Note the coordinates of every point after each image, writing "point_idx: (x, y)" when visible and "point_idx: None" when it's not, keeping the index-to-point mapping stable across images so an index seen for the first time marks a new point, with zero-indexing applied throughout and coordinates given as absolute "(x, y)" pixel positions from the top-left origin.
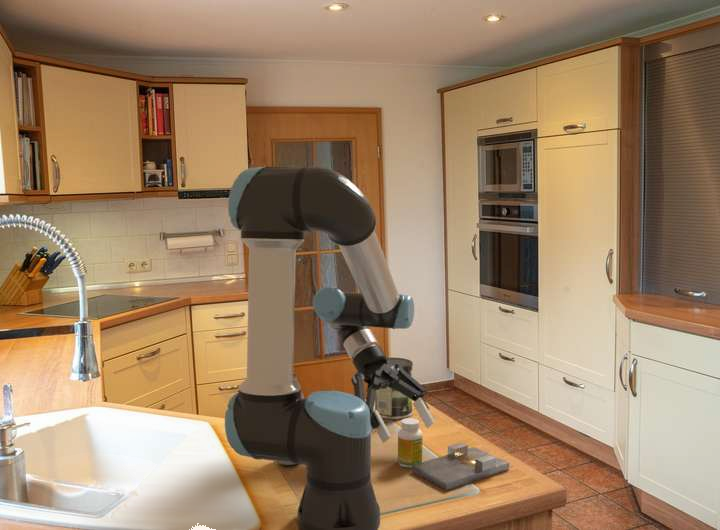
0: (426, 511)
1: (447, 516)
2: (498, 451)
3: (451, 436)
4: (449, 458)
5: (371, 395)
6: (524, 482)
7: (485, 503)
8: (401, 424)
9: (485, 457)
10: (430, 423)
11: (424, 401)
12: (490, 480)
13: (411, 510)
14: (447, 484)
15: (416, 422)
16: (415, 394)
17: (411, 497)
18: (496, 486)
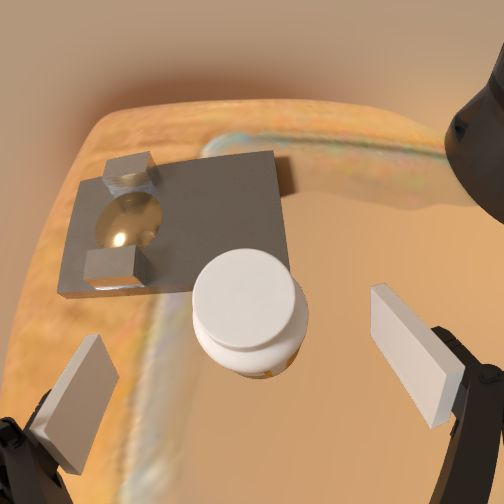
0: (358, 125)
1: (331, 102)
2: (29, 274)
3: None
4: (159, 261)
5: (486, 476)
6: (118, 141)
7: (240, 107)
8: (294, 313)
9: (120, 169)
10: (104, 350)
11: (31, 421)
12: (156, 165)
13: (383, 138)
14: (271, 152)
15: (226, 261)
16: (37, 462)
17: (363, 172)
18: (169, 143)
